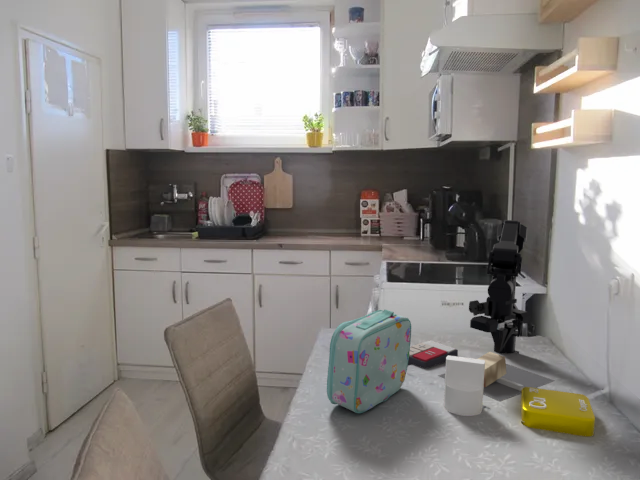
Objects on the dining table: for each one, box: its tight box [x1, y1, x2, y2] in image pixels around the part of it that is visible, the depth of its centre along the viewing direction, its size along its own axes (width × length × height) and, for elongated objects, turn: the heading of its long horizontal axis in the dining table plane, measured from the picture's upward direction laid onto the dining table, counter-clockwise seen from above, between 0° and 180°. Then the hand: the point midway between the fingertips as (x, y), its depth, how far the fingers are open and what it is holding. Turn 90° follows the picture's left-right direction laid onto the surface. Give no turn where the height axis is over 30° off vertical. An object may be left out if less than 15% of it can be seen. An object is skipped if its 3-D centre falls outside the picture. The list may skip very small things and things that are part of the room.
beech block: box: [477, 351, 507, 387], centre depth 149 cm, size 5×5×9 cm
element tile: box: [520, 387, 596, 438], centre depth 130 cm, size 15×15×5 cm
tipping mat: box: [437, 363, 556, 402], centre depth 152 cm, size 24×20×2 cm
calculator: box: [408, 339, 459, 369], centre depth 166 cm, size 11×4×15 cm
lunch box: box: [326, 309, 412, 414], centre depth 138 cm, size 27×10×21 cm, turn 144°
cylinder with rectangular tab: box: [443, 355, 485, 417], centre depth 134 cm, size 9×9×12 cm
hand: (498, 350), depth 151 cm, fingers closed
